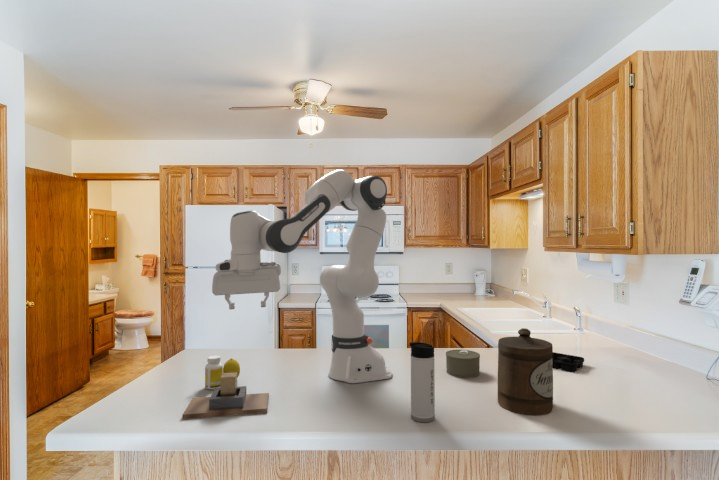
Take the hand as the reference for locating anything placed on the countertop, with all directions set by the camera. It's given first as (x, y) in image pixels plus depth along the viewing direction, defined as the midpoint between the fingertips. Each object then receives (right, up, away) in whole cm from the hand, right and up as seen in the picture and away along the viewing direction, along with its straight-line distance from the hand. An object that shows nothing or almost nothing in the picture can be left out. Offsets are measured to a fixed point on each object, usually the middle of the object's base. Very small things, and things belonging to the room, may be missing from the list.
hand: (247, 308), depth 126 cm
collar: (-3, -26, -10) cm, 27 cm away
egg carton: (+106, -28, +34) cm, 115 cm away
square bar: (-3, -26, -10) cm, 27 cm away
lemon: (-9, -27, +12) cm, 31 cm away
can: (+72, -27, +21) cm, 80 cm away
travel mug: (+51, -27, -17) cm, 60 cm away
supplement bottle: (-13, -27, +7) cm, 31 cm away
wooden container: (+82, -27, -9) cm, 87 cm away
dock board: (-3, -27, -10) cm, 29 cm away
